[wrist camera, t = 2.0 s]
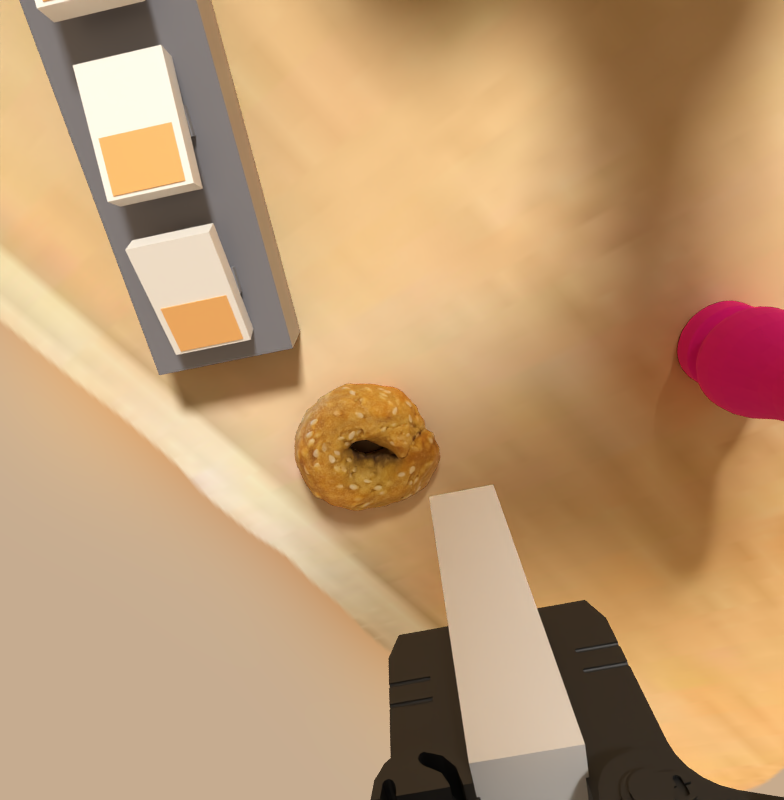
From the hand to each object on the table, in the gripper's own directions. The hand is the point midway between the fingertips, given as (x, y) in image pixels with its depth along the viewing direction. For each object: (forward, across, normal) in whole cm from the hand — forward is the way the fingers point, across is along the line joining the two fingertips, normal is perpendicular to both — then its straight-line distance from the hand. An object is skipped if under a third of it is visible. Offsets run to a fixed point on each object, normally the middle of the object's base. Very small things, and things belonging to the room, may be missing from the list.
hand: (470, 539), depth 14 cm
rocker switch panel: (+29, -13, +13) cm, 34 cm away
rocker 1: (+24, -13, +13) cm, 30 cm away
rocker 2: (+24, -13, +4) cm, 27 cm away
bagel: (+30, -5, -11) cm, 32 cm away
